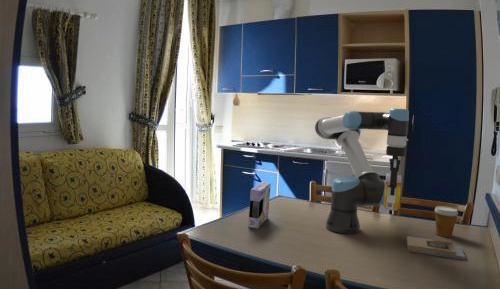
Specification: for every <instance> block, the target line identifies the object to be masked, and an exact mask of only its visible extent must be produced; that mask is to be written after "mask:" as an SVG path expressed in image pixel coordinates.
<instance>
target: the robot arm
mask: <svg viewBox="0 0 500 289" xmlns="http://www.w3.org/2000/svg"><path fill="white" fill-rule="evenodd" d="M409 115H410V111H409V110H408V109H407V108H390V109H389V112H385V111H379V112H378V111H358V110H357V111H356V110H348V111H346V112H345V113H344V114H342V115H338V116H333V117H331V116H329V117H327V116H326V117H321V118H319V119H318V120H317V121H316V123H315V126H314V129H315V130H314V131H315V133H316V134H317V135H318V137H320V138H322V139H324V140H336V143H337V145H338V146H340V147H341V148H342V149H343V152H344V154H345V156H346V158H347V161H348V163H349V165H350V167H351V170H352V172H353V174H354V176H348V175H347V176H346V175H345V176H340V177H337V178H335V179H333V181H332V185H331V197H330V198H331V199H330V211H329V214H328V216H327V219H326V221H325V228H326V229H327V230H329V231H331V232H335V233H338V234H339V233H340V234H357V233H359V232H360V231H361V224H360V220H359V216H358V207H363V206H364V207H365V206H366V207H378V206H384V194H385V182H386V179H381V177H380V175H379V174H378V173H377V172H375V171H373V169H372V168H373V167H371V165H370V162H369V160H368V158H367V156H366V153H365V152H364V149H363V147H362V145H361V143H360V141H359V139H360V137H361V133H362V132H361V131H362V130H374V131H375V130H376V131H377V130H379V131H387V135H386V136H387V137H386V149H385V154H386V155H387V156H391V157H392V158H390V160H389V171H390V172H391V178H390V185H388V187H389V197H388V203H395V198H396V187H397V185H396V184H397V173H398V172H399V171H400V165H401V159H399V158H400V157H401V158H402V157H406V154H407V152H406V151H407V148H406V146H407V142H409V139H408V138H407V137H408V132H409V121H410V117H409ZM392 183H393V184H392Z"/></svg>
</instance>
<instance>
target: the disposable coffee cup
mask: <svg viewBox="0 0 500 289" xmlns="http://www.w3.org/2000/svg"><path fill="white" fill-rule="evenodd" d="M434 214H435V234H436V235H437V236H440V237H444V238H452V237H453V232H454V228H455V225H456V220H457V216H458V215H459V212H458V209H457V208H455V207H450V206H446V205H445V206H444V205H442V206H441V205H440V206H439V205H438V206H435V208H434Z"/></svg>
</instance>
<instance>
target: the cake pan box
mask: <svg viewBox="0 0 500 289" xmlns="http://www.w3.org/2000/svg"><path fill="white" fill-rule="evenodd" d="M271 183H272V182H271ZM271 183H270V182H268V181H267V182H266V181H261V182H260V183H259V184H256V185H255V186H254V187H252V188H251V189H250V193H249V194H250V196H249V208H248V210H249V211H248V225H247V226H248V228H251V229H256V230H257V229H259V227H260V226H262V225H263V224H264V222H265V221H267V219H268V218H269V210H270V207H269V206H270V197H271V196H270V195H271Z"/></svg>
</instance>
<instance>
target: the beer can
mask: <svg viewBox="0 0 500 289" xmlns="http://www.w3.org/2000/svg"><path fill="white" fill-rule="evenodd" d="M390 178H391V171H390V172H387V173H386V175H385V180H386V182H385V194H384V205H383V207H384V209H385V210H388V211H397V210H399V208H400V200H401V199H400V198H401V186H402V174H401V173H400V172H399V173H398V172H397V184H396V185H397V187H396V198H395V203H388V197H389V187H388V185H390ZM392 184H393V183H392Z"/></svg>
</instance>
